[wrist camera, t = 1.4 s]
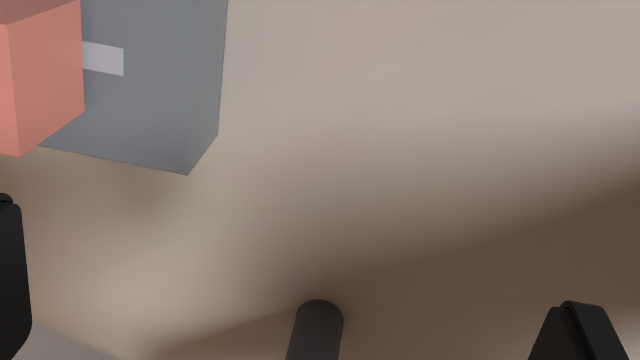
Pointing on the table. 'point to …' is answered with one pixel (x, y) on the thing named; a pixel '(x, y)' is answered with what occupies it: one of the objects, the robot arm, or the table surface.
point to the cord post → (316, 332)
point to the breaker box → (148, 82)
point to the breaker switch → (38, 71)
